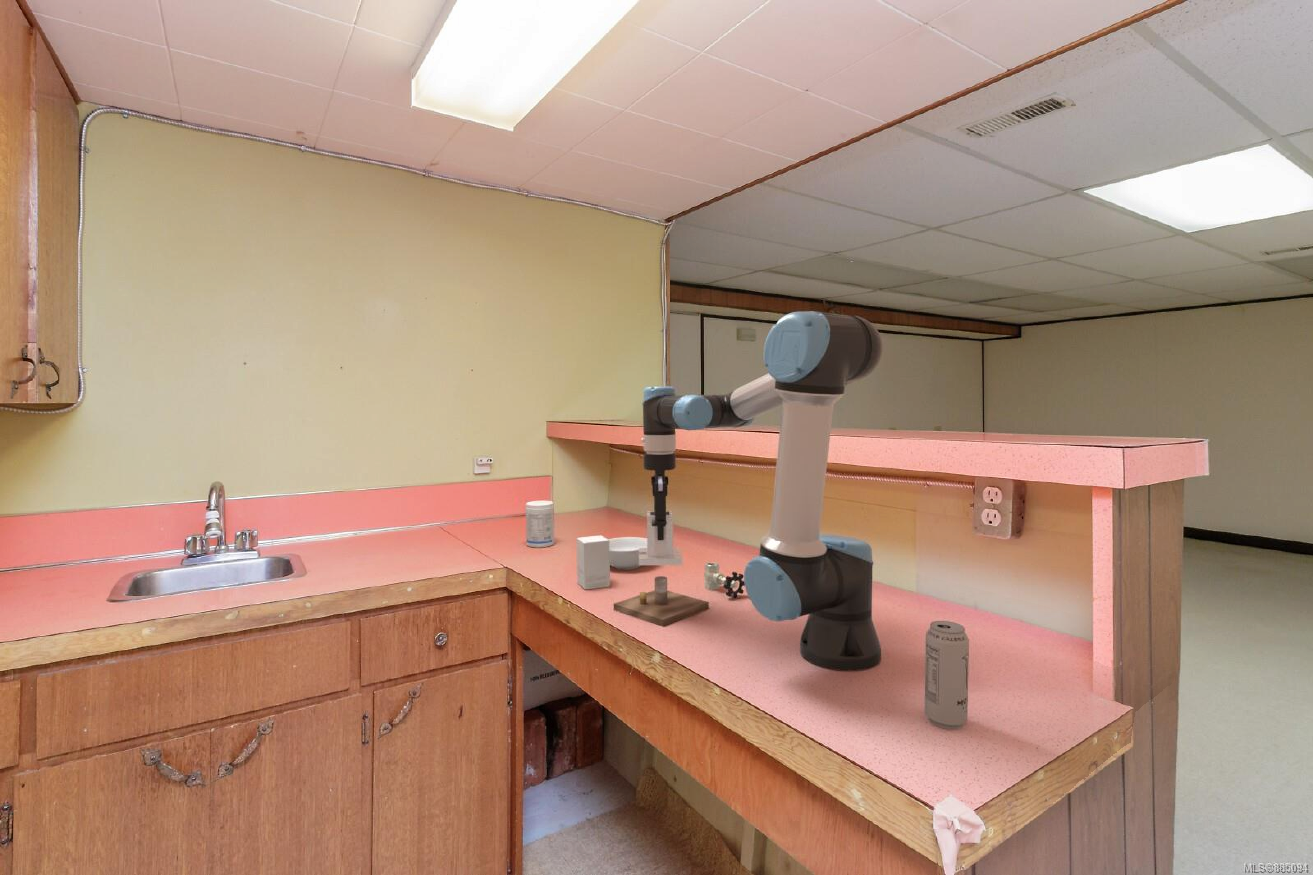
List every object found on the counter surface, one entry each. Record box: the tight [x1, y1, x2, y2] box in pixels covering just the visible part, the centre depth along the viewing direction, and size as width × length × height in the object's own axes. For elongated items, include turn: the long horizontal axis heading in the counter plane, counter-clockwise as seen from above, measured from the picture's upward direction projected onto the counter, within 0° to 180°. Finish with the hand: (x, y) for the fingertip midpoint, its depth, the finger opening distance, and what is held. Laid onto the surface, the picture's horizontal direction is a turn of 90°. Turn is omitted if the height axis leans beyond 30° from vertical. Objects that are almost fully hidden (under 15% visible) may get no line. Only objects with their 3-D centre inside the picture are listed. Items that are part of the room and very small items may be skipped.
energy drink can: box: [924, 620, 970, 730], centre depth 97 cm, size 6×6×15 cm
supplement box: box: [576, 534, 611, 591], centre depth 170 cm, size 7×7×13 cm
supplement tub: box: [525, 500, 555, 549], centre depth 217 cm, size 10×10×15 cm
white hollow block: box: [639, 510, 683, 566], centre depth 149 cm, size 10×10×11 cm
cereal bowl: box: [607, 536, 647, 571], centre depth 189 cm, size 17×17×7 cm
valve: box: [703, 561, 745, 599], centre depth 163 cm, size 7×7×12 cm
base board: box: [613, 575, 710, 627], centre depth 150 cm, size 16×16×8 cm
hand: (660, 549), depth 150 cm, fingers closed on white hollow block, 6 cm apart
